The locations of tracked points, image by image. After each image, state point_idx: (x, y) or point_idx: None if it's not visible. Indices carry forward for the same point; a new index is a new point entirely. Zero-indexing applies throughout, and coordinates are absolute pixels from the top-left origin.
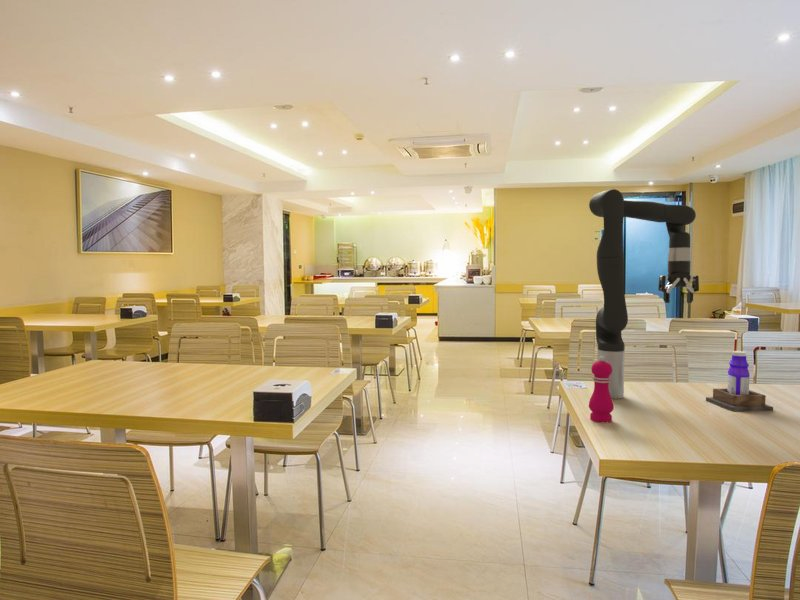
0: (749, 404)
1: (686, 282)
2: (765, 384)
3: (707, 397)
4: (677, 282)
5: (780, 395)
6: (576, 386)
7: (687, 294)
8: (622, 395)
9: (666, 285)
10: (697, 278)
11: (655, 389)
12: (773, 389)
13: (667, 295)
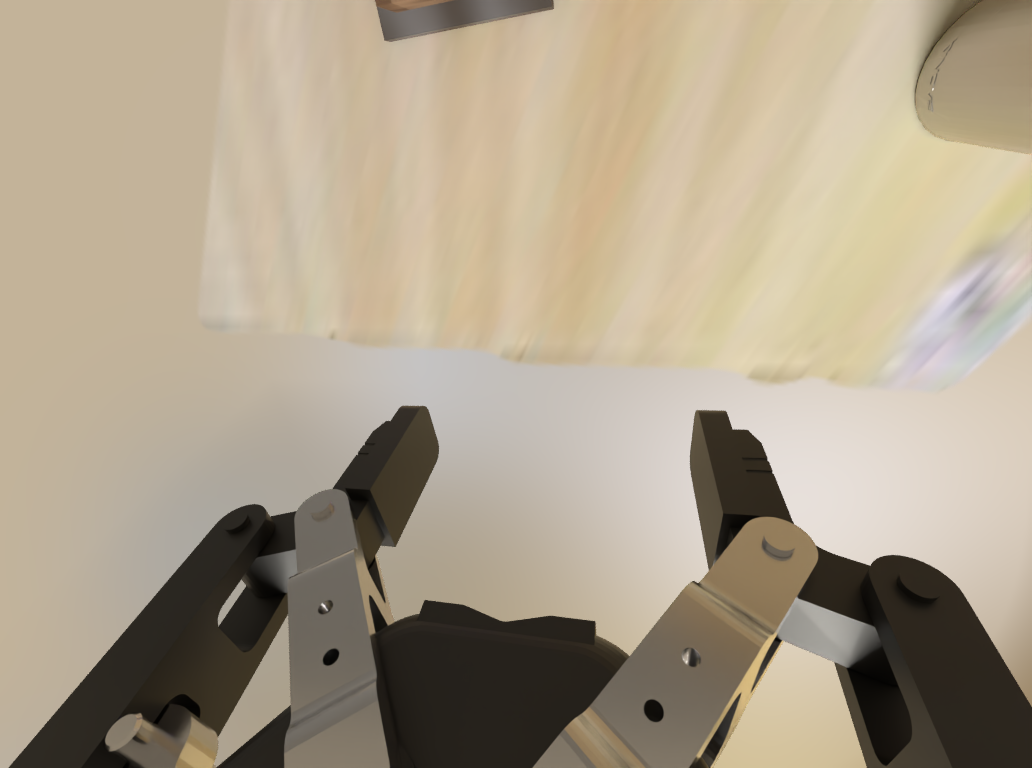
0: None
1: (343, 678)
2: (266, 324)
3: (545, 3)
4: (581, 718)
5: (251, 157)
6: (992, 289)
7: (399, 521)
8: (973, 11)
9: (726, 740)
10: (42, 756)
11: (658, 240)
12: (256, 255)
13: (747, 493)
